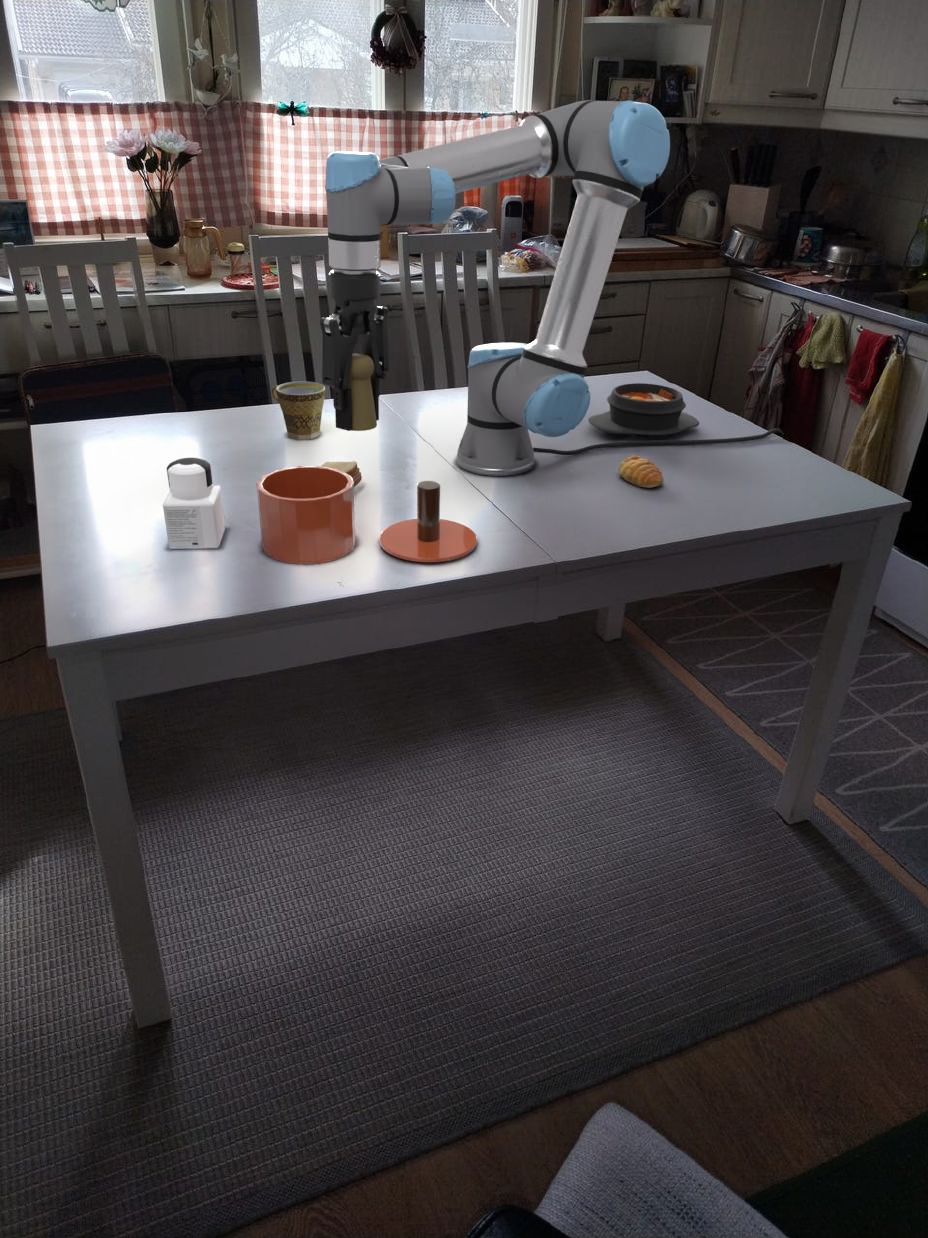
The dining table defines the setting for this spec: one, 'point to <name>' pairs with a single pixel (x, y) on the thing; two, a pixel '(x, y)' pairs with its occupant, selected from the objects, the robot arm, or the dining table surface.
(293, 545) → the pot
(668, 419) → the casserole
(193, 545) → the container
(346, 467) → the toy sandwich meal
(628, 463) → the pastry
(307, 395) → the ceramic cup
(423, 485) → the lid
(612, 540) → the dining table surface
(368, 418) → the olive pawn figure
